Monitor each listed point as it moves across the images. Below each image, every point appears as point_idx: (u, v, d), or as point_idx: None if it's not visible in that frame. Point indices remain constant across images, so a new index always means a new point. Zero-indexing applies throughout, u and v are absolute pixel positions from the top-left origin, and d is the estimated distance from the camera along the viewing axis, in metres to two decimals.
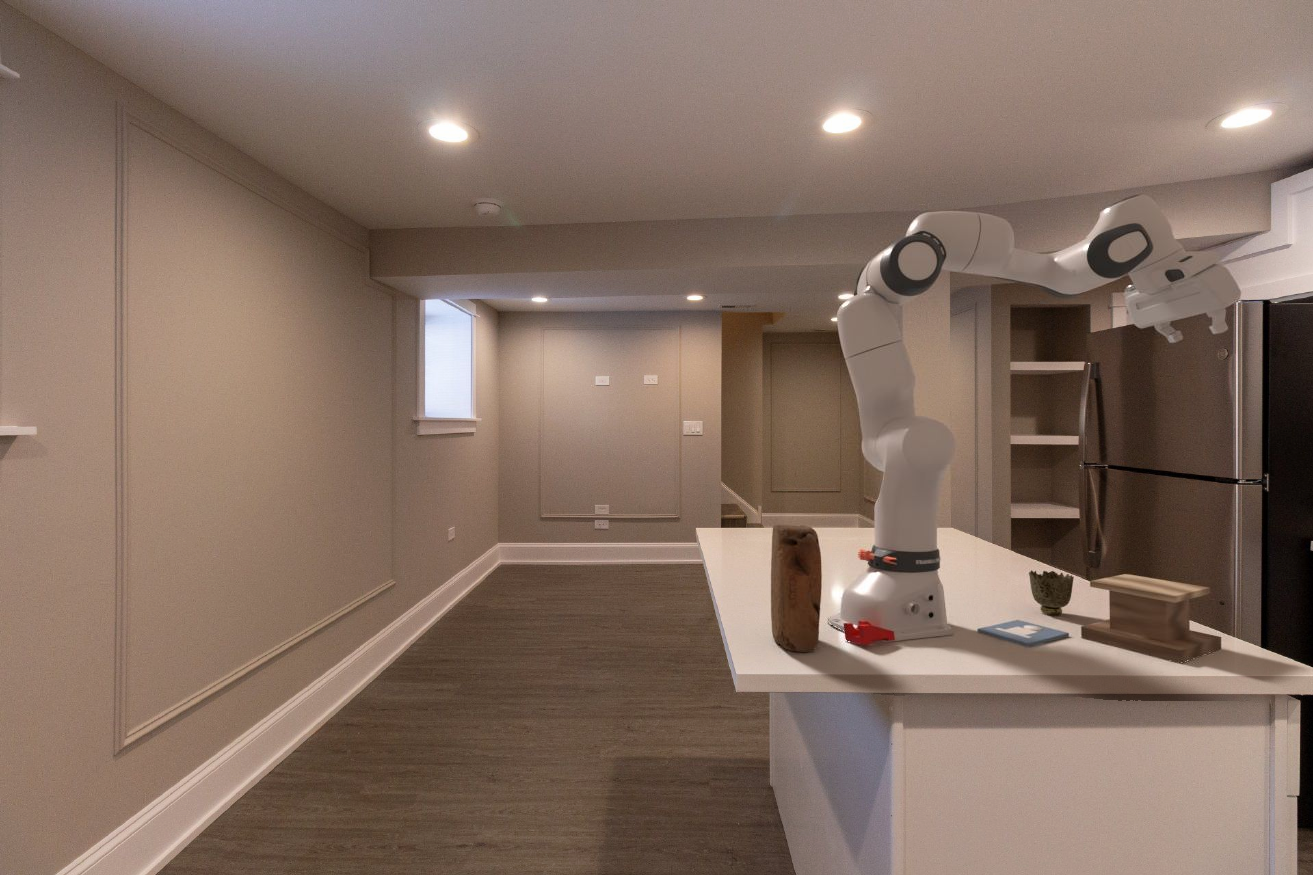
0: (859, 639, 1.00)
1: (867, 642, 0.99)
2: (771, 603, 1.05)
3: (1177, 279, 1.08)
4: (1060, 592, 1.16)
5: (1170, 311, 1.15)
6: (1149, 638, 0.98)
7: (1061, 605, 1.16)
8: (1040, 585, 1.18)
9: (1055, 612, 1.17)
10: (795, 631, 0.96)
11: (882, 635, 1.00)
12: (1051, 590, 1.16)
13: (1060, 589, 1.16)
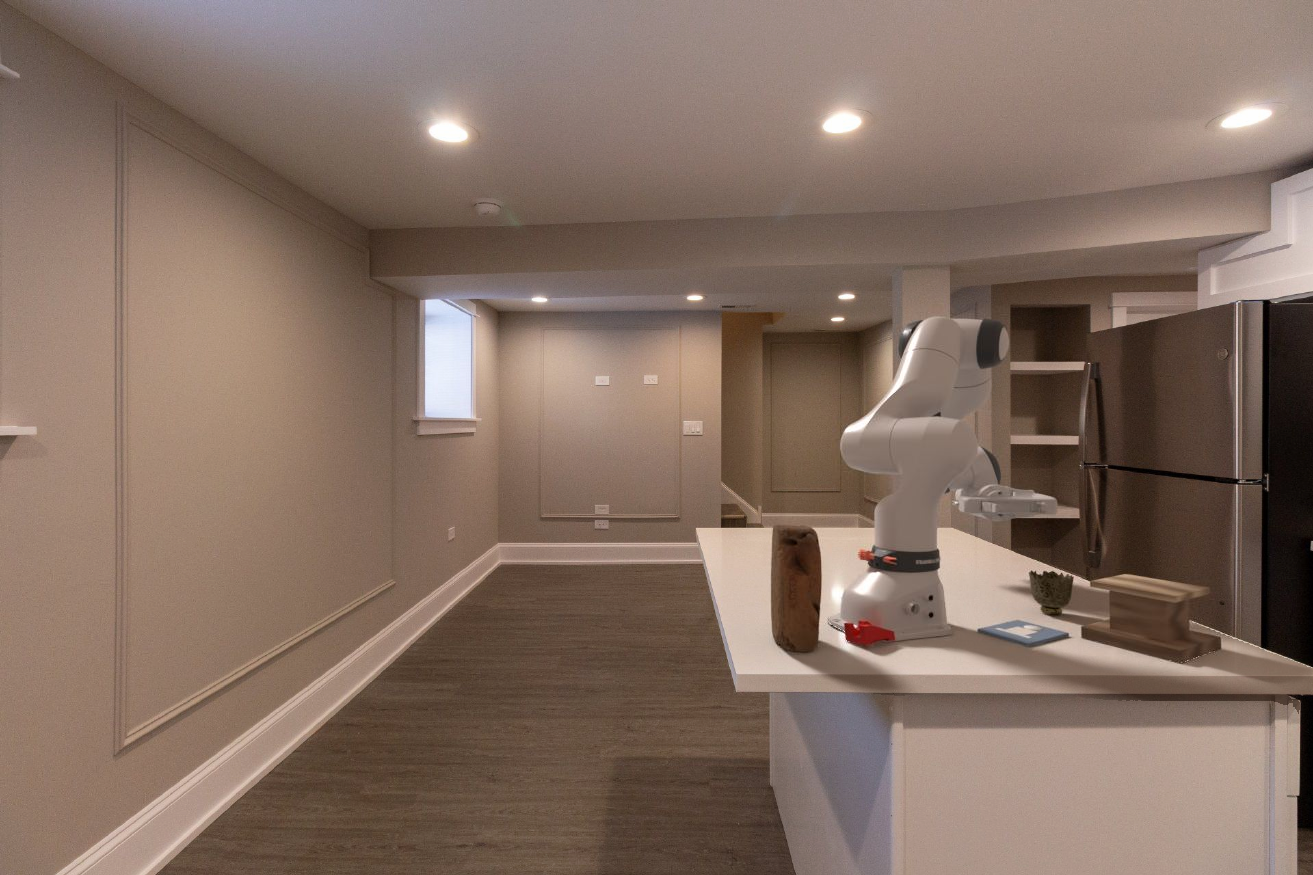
0: (860, 639, 0.99)
1: (868, 642, 0.98)
2: (771, 603, 1.05)
3: (1023, 489, 1.43)
4: (1060, 592, 1.16)
5: (1005, 497, 1.38)
6: (1149, 638, 0.98)
7: (1061, 605, 1.16)
8: (1040, 585, 1.18)
9: (1055, 612, 1.17)
10: (795, 631, 0.96)
11: (883, 635, 1.00)
12: (1051, 590, 1.16)
13: (1060, 589, 1.16)
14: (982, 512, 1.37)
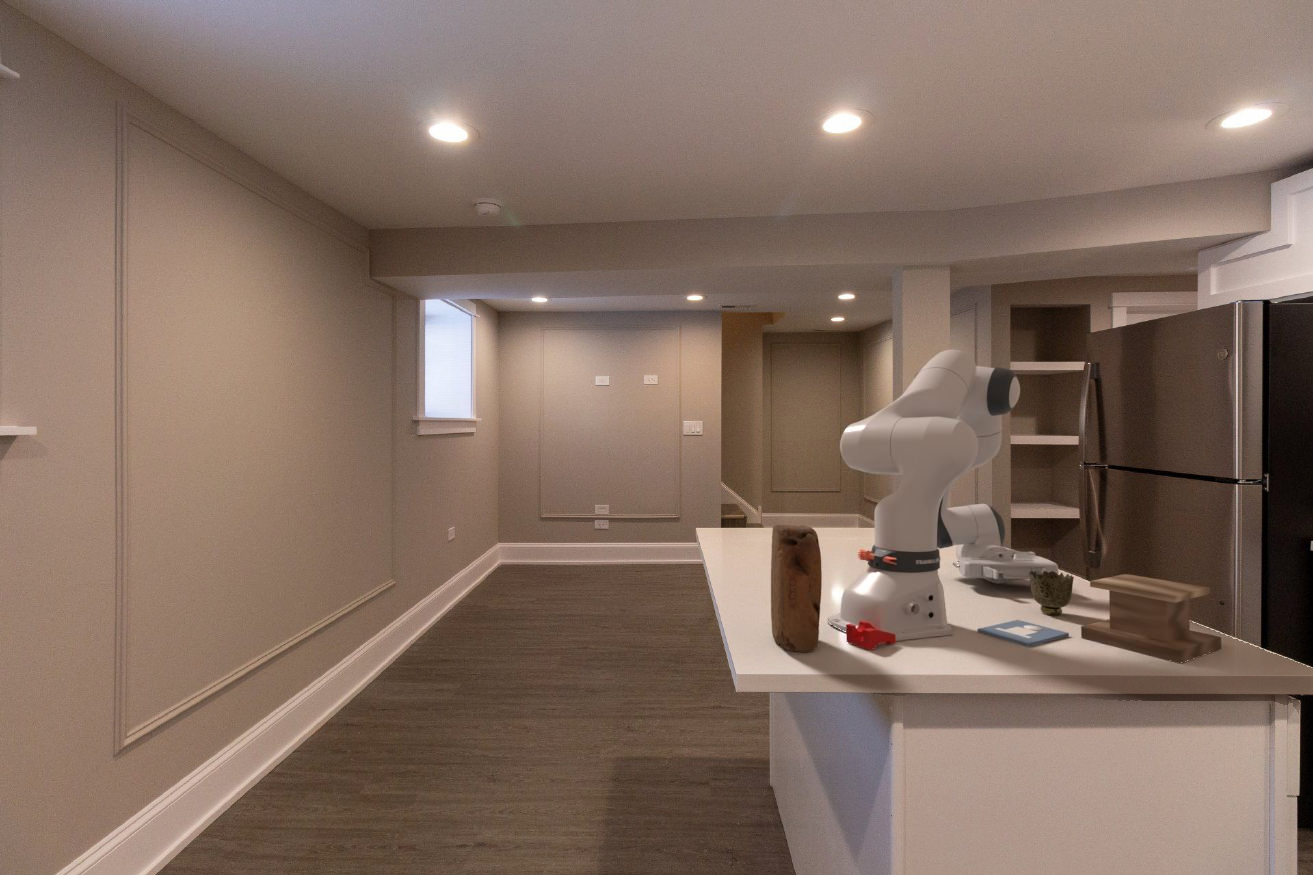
0: (863, 643, 0.99)
1: (871, 647, 0.98)
2: (771, 603, 1.05)
3: (1024, 551, 1.42)
4: (1060, 592, 1.16)
5: (1006, 561, 1.38)
6: (1149, 638, 0.98)
7: (1061, 605, 1.16)
8: (1040, 585, 1.18)
9: (1055, 612, 1.17)
10: (795, 631, 0.96)
11: (885, 638, 1.00)
12: (1051, 590, 1.16)
13: (1060, 589, 1.16)
14: (983, 577, 1.36)
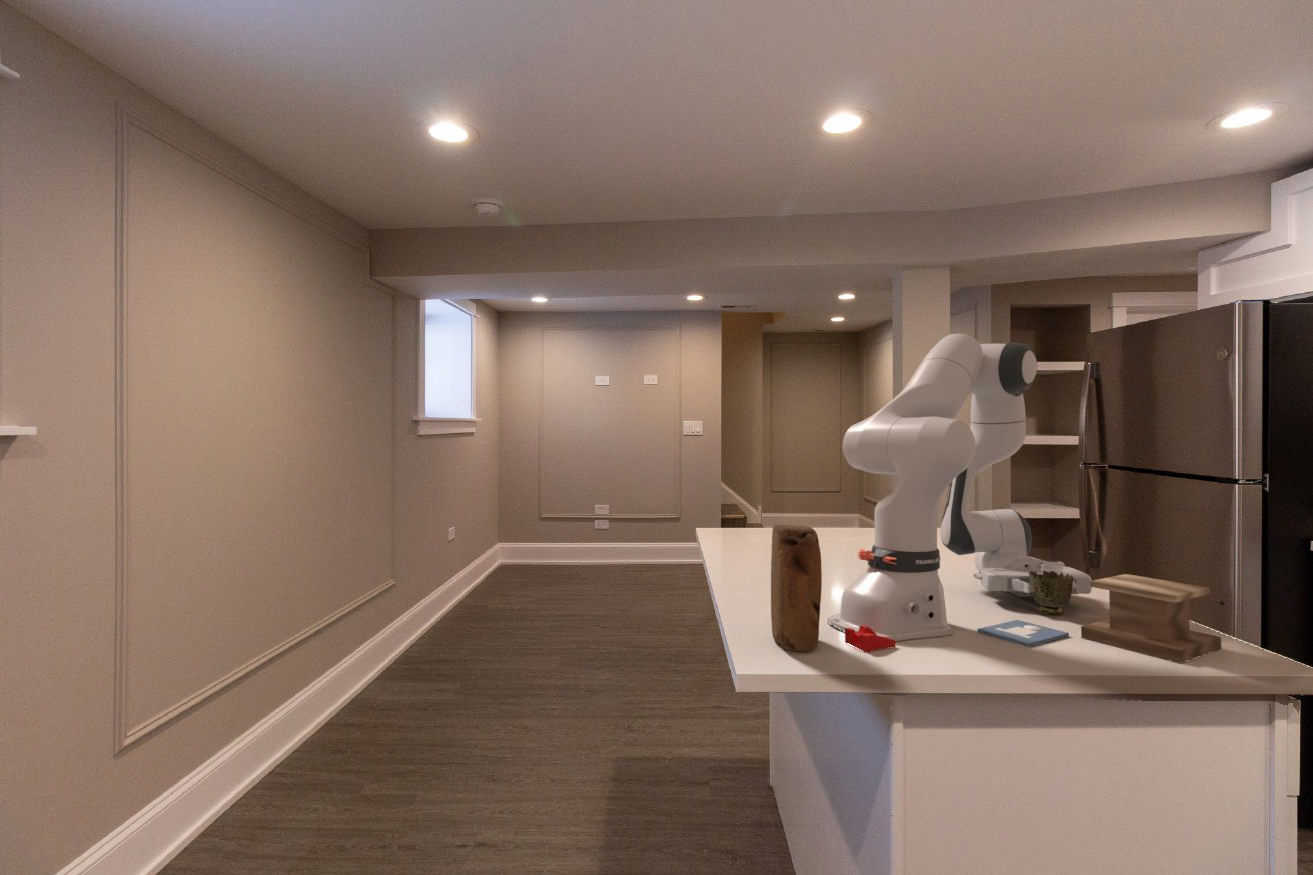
0: (860, 647, 0.98)
1: None
2: (771, 603, 1.05)
3: (1052, 561, 1.30)
4: (1060, 592, 1.16)
5: None
6: (1149, 638, 0.98)
7: (1061, 605, 1.16)
8: (1040, 585, 1.18)
9: (1055, 612, 1.17)
10: (795, 631, 0.96)
11: (883, 644, 0.99)
12: (1051, 590, 1.16)
13: (1060, 589, 1.16)
14: (1008, 590, 1.24)
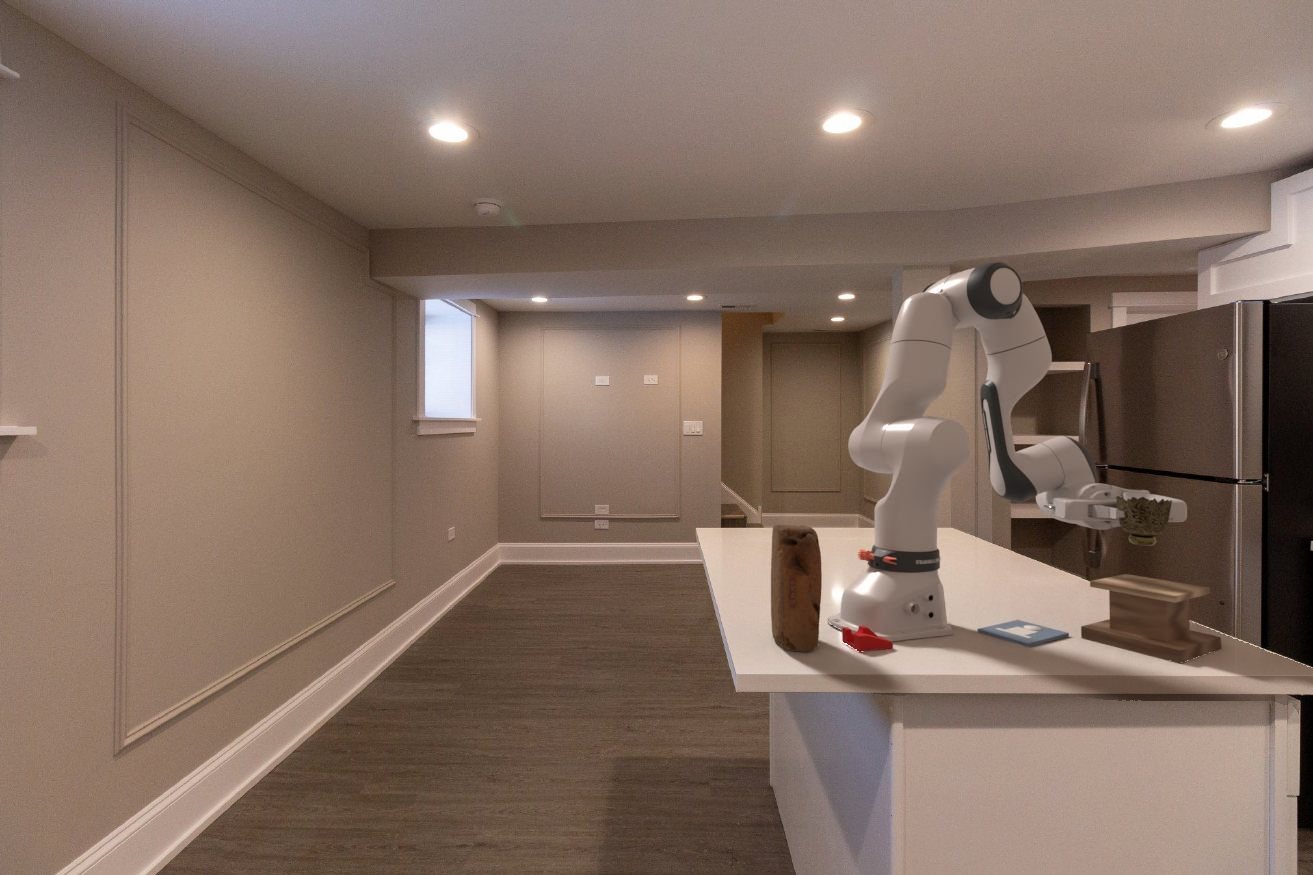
0: (854, 647, 0.98)
1: None
2: (771, 603, 1.05)
3: (1134, 489, 1.13)
4: (1157, 517, 0.99)
5: None
6: (1149, 638, 0.98)
7: (1157, 532, 1.00)
8: (1132, 509, 1.01)
9: (1148, 541, 1.01)
10: (795, 631, 0.96)
11: (879, 645, 0.98)
12: (1146, 514, 0.99)
13: (1156, 513, 0.99)
14: (1089, 518, 1.07)
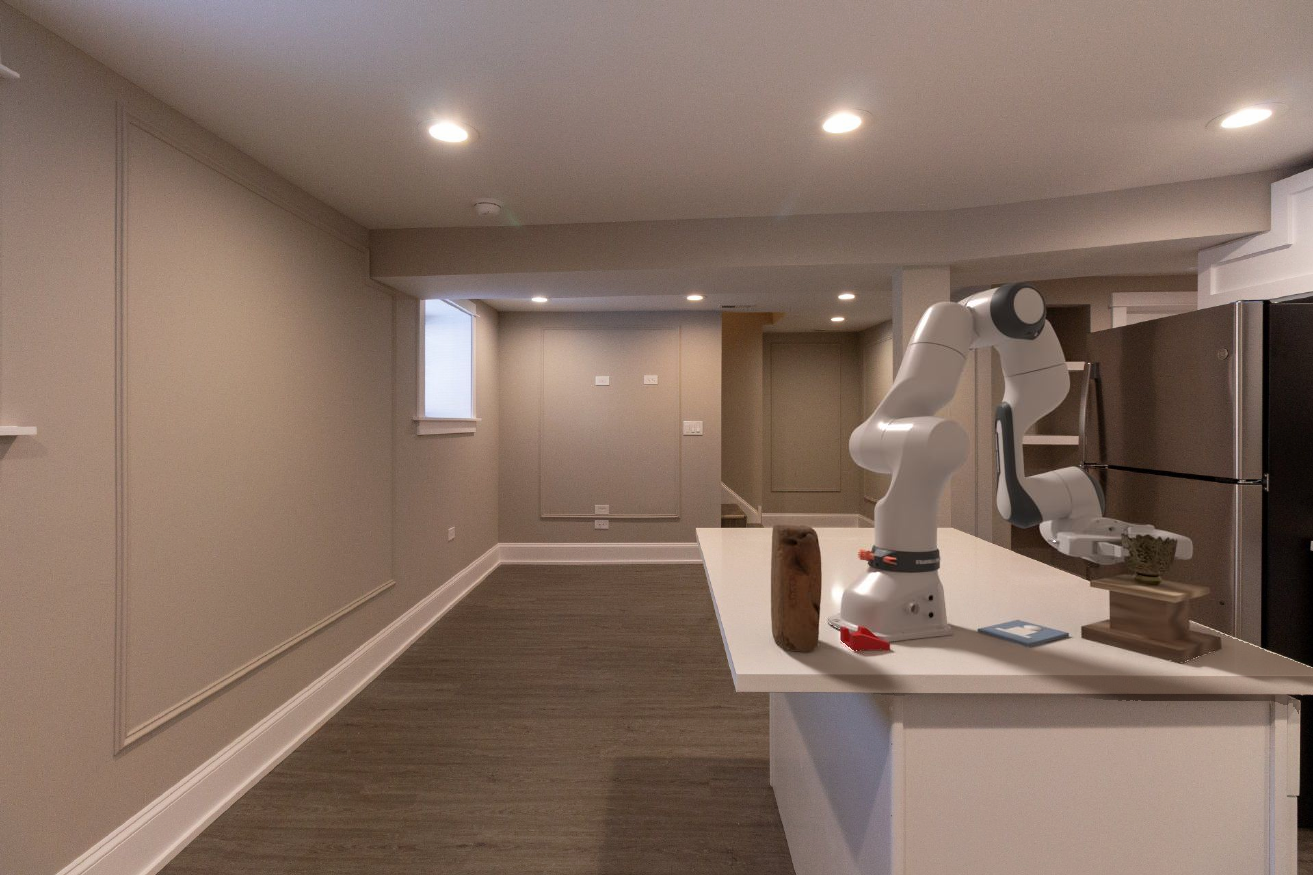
0: (849, 646, 0.99)
1: None
2: (771, 603, 1.05)
3: (1139, 524, 1.12)
4: (1162, 557, 0.98)
5: None
6: (1149, 638, 0.98)
7: (1162, 572, 0.99)
8: (1137, 548, 1.00)
9: (1153, 581, 1.00)
10: (795, 631, 0.96)
11: (875, 646, 0.98)
12: (1151, 554, 0.99)
13: (1162, 553, 0.98)
14: (1094, 555, 1.06)
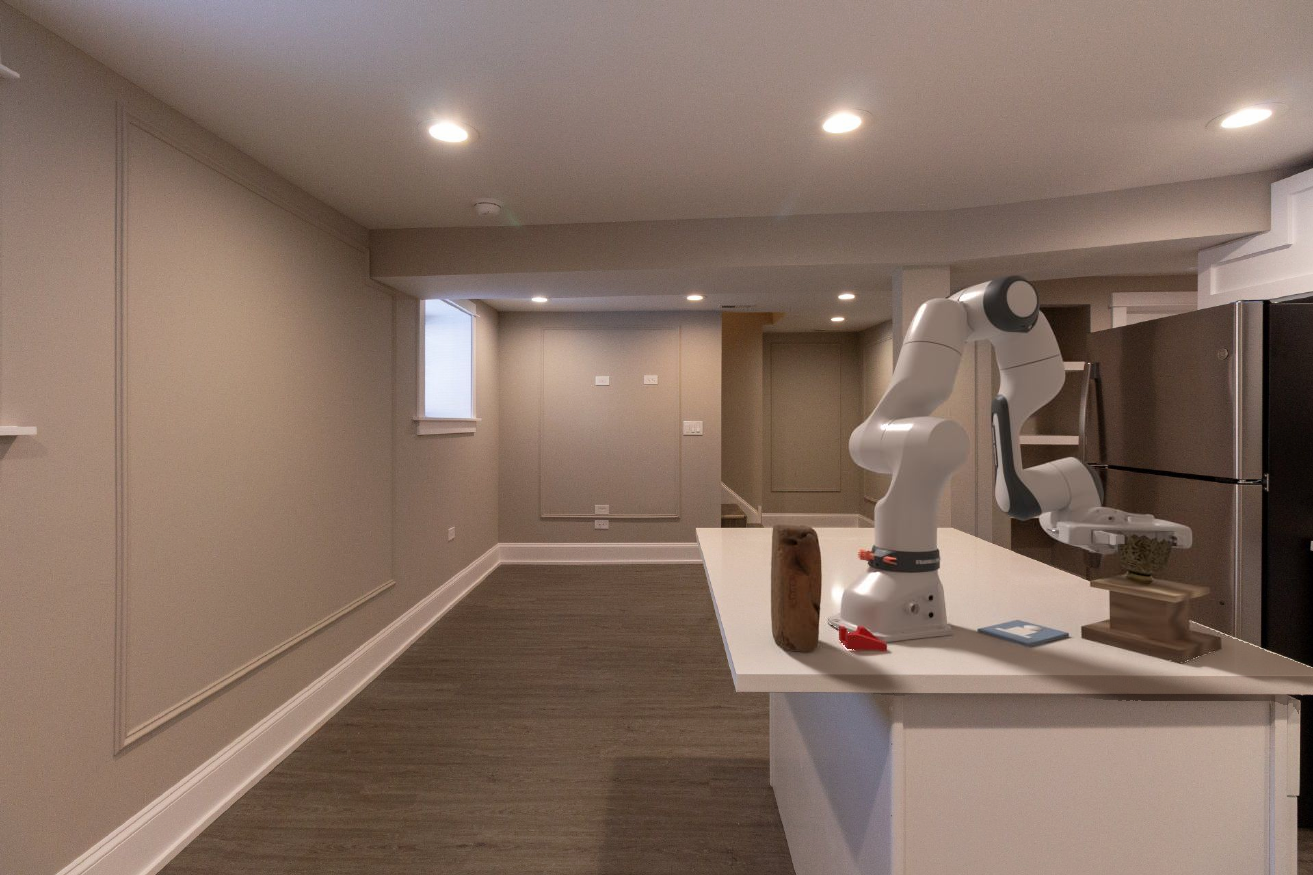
0: (845, 646, 0.99)
1: None
2: (771, 603, 1.05)
3: (1139, 514, 1.12)
4: (1156, 556, 0.98)
5: (1121, 525, 1.07)
6: (1149, 638, 0.98)
7: (1154, 572, 0.99)
8: (1132, 546, 1.00)
9: (1145, 579, 1.00)
10: (795, 631, 0.96)
11: (871, 646, 0.98)
12: (1146, 552, 0.99)
13: (1157, 553, 0.98)
14: (1093, 544, 1.06)
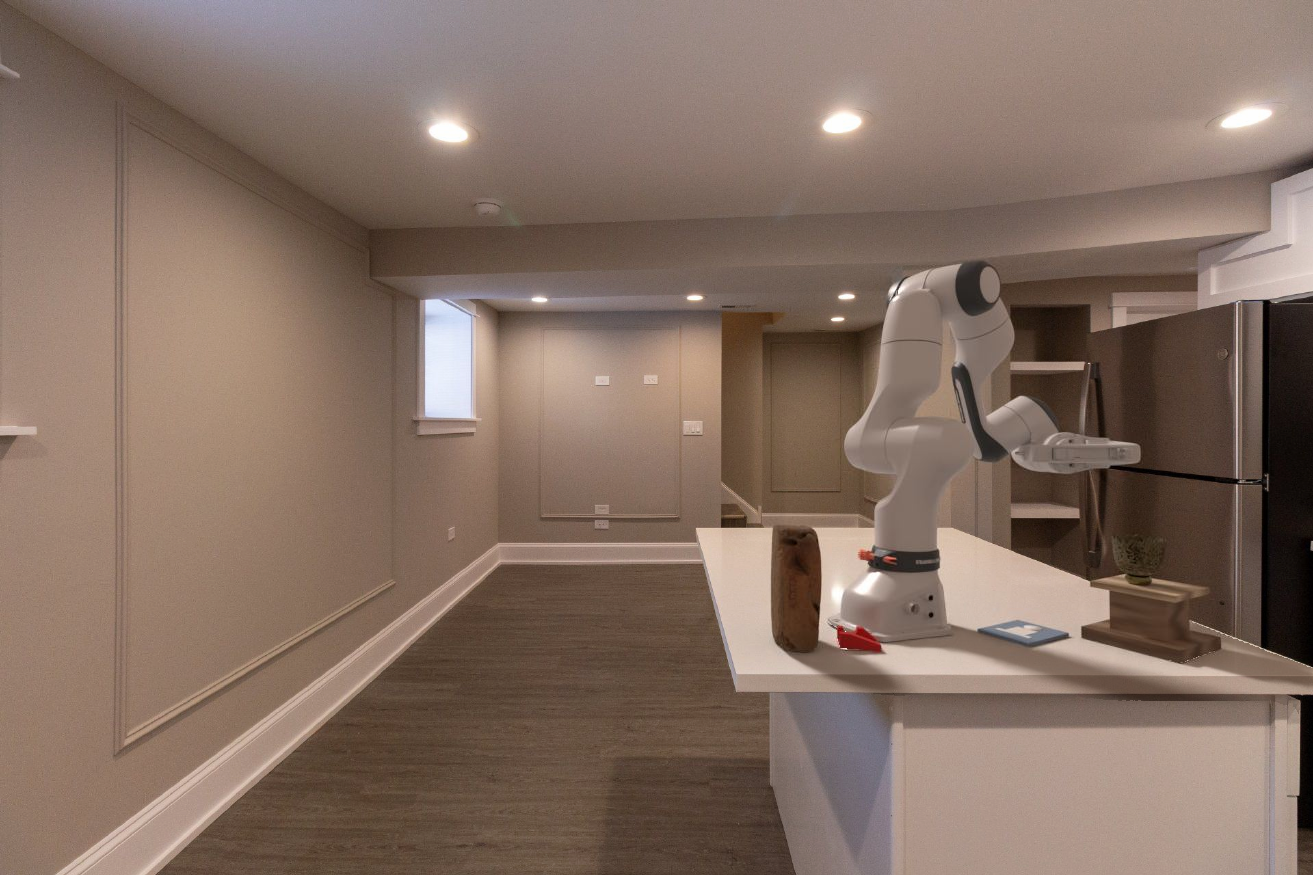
0: (839, 644, 1.00)
1: None
2: (771, 603, 1.05)
3: (1096, 437, 1.26)
4: (1152, 558, 0.98)
5: None
6: (1149, 638, 0.98)
7: (1152, 573, 0.99)
8: (1126, 550, 1.00)
9: (1144, 581, 1.00)
10: (795, 631, 0.96)
11: (865, 646, 0.98)
12: (1141, 555, 0.99)
13: (1151, 554, 0.98)
14: (1054, 460, 1.20)
